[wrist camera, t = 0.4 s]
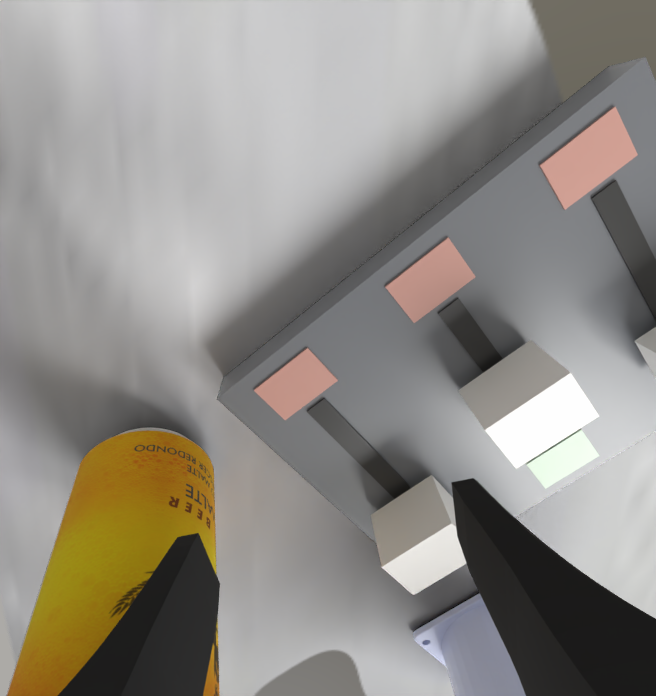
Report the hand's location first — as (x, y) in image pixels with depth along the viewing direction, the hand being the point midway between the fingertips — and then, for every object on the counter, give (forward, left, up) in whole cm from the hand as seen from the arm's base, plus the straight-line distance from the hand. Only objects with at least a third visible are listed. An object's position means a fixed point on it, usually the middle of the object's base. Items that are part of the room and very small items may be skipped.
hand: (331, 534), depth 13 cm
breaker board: (-5, -7, -10) cm, 13 cm away
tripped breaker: (-5, -7, -7) cm, 11 cm away
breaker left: (-8, 0, -7) cm, 11 cm away
